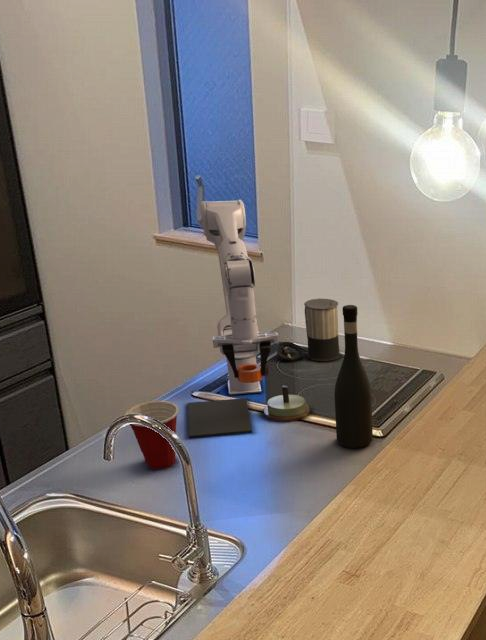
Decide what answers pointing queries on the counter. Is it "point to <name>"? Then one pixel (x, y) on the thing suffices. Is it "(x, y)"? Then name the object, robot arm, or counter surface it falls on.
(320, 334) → the milk frother
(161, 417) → the plastic cup
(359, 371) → the wine bottle
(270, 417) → the ring stand
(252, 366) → the ring
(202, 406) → the mat
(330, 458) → the counter surface
